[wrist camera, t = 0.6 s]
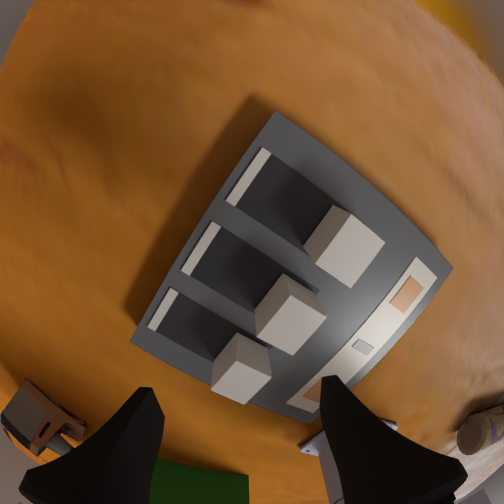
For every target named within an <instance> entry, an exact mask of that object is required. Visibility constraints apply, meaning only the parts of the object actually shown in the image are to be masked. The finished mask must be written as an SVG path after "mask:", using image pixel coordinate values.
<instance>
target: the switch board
mask: <svg viewBox="0 0 504 504" xmlns="http://www.w3.org/2000/svg"><path fill="white" fill-rule="evenodd" d="M333 205H334V206H336V207H338V208H341V209H342V210H344V211H346V212H348V213H350V214H352V215H353V216H355V217H356V218H357V219H358V220H359V221H361V222H362V223H363V224H364V225H365V226H367V227H368V228H369V229H370V230H371V231H373V232H374V233H375V234H376V235H377V236H378V237H380V238H381V239H382V240H383V241H384V242H385V244H384V245H383V246H382V248H381V249H380V251H379V252H378V253H377V255H376V256H375V257H374V259H373V260H372V261H371V263H370V264H369V265H368V267H367V268H366V269H365V271H364V272H363V273H362V275H361V276H360V277H359V279H358V280H357V281H356V282H355V284H354V285H353V286H352V287H351V288H349V287H348V286H346V285H345V284H344V283H342V282H341V281H339V280H338V279H336V278H335V277H333V276H332V275H331V274H329V273H328V272H326V271H325V270H323V269H322V268H320V267H319V266H318V265H316V264H315V263H314V262H313V260H312V259H311V257H310V256H309V254H308V253H307V251H306V250H305V249H304V247H303V246H304V244H305V243H306V242H307V240H308V239H309V237H310V236H311V235H312V233H313V232H314V231H315V229H316V228H317V227H318V225H319V224H320V222H321V221H322V220H323V218H324V217H325V215H326V214H327V213H328V211H329V210H330V208H331V207H332V206H333ZM452 270H453V267H452V265H451V264H450V263H449V262H448V261H447V260H446V258H445V257H444V256H443V255H442V254H441V253H440V252H439V251H438V249H437V248H436V247H435V246H434V245H433V244H432V243H431V242H430V241H429V240H428V239H427V238H426V237H425V235H424V234H423V233H422V232H421V231H420V230H419V229H418V228H417V227H416V226H415V225H414V224H413V223H412V222H411V221H410V220H409V219H408V218H407V217H406V216H405V215H404V214H403V213H402V212H401V211H400V210H399V209H398V208H397V207H396V206H395V205H393V204H392V203H391V202H390V201H389V200H388V199H387V198H386V197H385V196H384V195H383V194H382V193H381V192H379V191H378V190H377V189H376V188H375V187H374V186H373V185H372V184H370V183H369V182H368V181H367V180H366V179H365V178H364V177H362V176H361V175H360V174H359V173H358V172H357V171H355V170H354V169H353V168H352V167H351V166H349V165H348V164H347V163H346V162H345V161H343V160H342V159H341V158H340V157H338V156H337V155H336V154H335V153H333V152H332V151H331V150H330V149H328V148H327V147H326V146H324V145H323V144H322V143H320V142H319V141H318V140H316V139H315V138H314V137H312V136H311V135H310V134H308V133H307V132H306V131H304V130H303V129H302V128H300V127H299V126H297V125H296V124H294V123H293V122H292V121H290V120H289V119H287V118H286V117H284V116H283V115H281V114H280V113H278V112H277V111H275V112H274V114H273V115H272V116H271V118H270V119H269V120H268V122H267V123H266V125H265V126H264V127H263V129H262V130H261V131H260V133H259V134H258V136H257V137H256V138H255V140H254V141H253V143H252V144H251V145H250V147H249V148H248V150H247V151H246V153H245V154H244V155H243V157H242V158H241V160H240V161H239V163H238V164H237V166H236V167H235V168H234V170H233V171H232V173H231V174H230V176H229V177H228V179H227V180H226V182H225V183H224V185H223V186H222V188H221V189H220V191H219V192H218V194H217V195H216V197H215V198H214V200H213V201H212V203H211V204H210V206H209V208H208V209H207V211H206V212H205V214H204V215H203V217H202V218H201V220H200V222H199V223H198V225H197V226H196V228H195V230H194V231H193V233H192V234H191V236H190V238H189V239H188V241H187V242H186V244H185V246H184V247H183V249H182V251H181V252H180V254H179V256H178V257H177V259H176V261H175V262H174V264H173V266H172V267H171V269H170V271H169V272H168V274H167V276H166V277H165V279H164V281H163V283H162V284H161V286H160V288H159V289H158V291H157V293H156V295H155V296H154V298H153V300H152V302H151V304H150V305H149V307H148V309H147V311H146V313H145V314H144V316H143V318H142V320H141V322H140V323H139V325H138V327H137V329H136V331H135V333H134V335H133V336H132V338H131V340H130V342H131V343H133V344H134V345H136V346H138V347H139V348H141V349H143V350H144V351H146V352H148V353H149V354H151V355H153V356H155V357H156V358H158V359H160V360H162V361H164V362H165V363H167V364H169V365H171V366H173V367H175V368H177V369H179V370H180V371H182V372H184V373H186V374H188V375H190V376H192V377H194V378H196V379H198V380H200V381H202V382H204V383H207V384H209V385H211V380H212V372H213V364H214V360H215V359H216V358H217V356H218V355H219V354H220V353H221V351H222V350H223V349H224V348H225V347H226V345H227V344H228V343H229V342H230V340H231V339H232V338H233V337H234V335H235V334H236V333H237V332H238V333H240V334H241V335H243V336H245V337H247V338H249V339H251V340H253V341H255V342H256V343H258V344H260V345H262V346H264V347H266V348H268V352H269V359H270V367H271V374H272V378H271V379H270V380H269V381H268V382H267V383H266V384H265V385H264V386H263V387H262V388H261V389H260V390H259V391H258V392H257V393H256V394H255V395H254V396H253V397H252V398H251V399H250V400H249V401H247V402H250V403H252V404H254V405H257V406H260V407H262V408H265V409H267V410H270V411H273V412H275V413H278V414H281V415H284V416H286V417H289V418H292V419H295V420H298V421H301V422H304V423H307V424H311V423H312V422H314V421H315V420H316V419H317V418H319V417H320V416H321V415H320V410H319V404H320V393H321V380H322V377H324V376H330V375H337V376H338V377H339V378H340V379H341V380H342V382H343V383H344V384H345V385H346V386H347V387H348V389H349V390H350V389H351V388H353V387H354V386H355V385H356V384H357V383H358V382H359V381H360V380H361V379H362V378H363V377H364V376H365V375H366V374H367V373H368V372H369V371H370V370H371V369H372V368H373V367H374V366H375V365H376V364H377V363H378V362H379V361H380V360H381V359H382V357H383V356H384V355H385V354H386V353H387V352H388V351H389V350H390V349H391V348H392V347H393V345H394V344H395V343H396V342H397V341H398V340H399V339H400V338H401V336H402V335H403V334H404V333H405V332H406V331H407V329H408V328H409V327H410V326H411V325H412V323H413V322H414V321H415V320H416V318H417V317H418V316H419V315H420V313H421V312H422V311H423V310H424V308H425V307H426V306H427V304H428V303H429V302H430V301H431V299H432V298H433V297H434V295H435V294H436V292H437V291H438V290H439V288H440V287H441V286H442V284H443V283H444V281H445V280H446V278H447V277H448V275H449V274H450V273H451V271H452ZM283 273H284V274H285V275H287V276H288V277H290V278H291V279H293V280H295V281H296V282H298V283H299V284H301V285H302V286H304V287H305V288H307V289H309V290H310V291H312V292H313V293H315V295H316V297H317V299H318V301H319V303H320V305H321V307H322V309H323V311H324V312H325V314H326V316H327V318H326V319H325V320H324V321H323V323H322V324H321V325H320V326H319V327H318V328H317V329H316V331H315V332H314V333H313V334H312V335H311V336H310V337H309V338H308V340H307V341H306V342H305V343H304V344H303V345H302V346H301V347H300V348H299V350H298V351H297V352H296V353H295V354H294V355H291V354H289V353H287V352H285V351H283V350H281V349H279V348H277V347H275V346H273V345H271V344H269V343H267V342H265V341H263V340H261V339H260V338H258V337H257V336H256V324H255V311H254V310H255V309H256V308H257V306H258V305H259V304H260V302H261V301H262V300H263V298H264V297H265V296H266V295H267V293H268V292H269V291H270V289H271V288H272V287H273V286H274V284H275V283H276V282H277V280H278V279H279V278H280V276H281V275H282V274H283Z"/></svg>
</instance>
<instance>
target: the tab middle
mask: <svg viewBox="0 0 504 504" xmlns="http://www.w3.org/2000/svg"><path fill="white" fill-rule="evenodd" d="M254 311H255V324H256V336H257V337H258V338H260V339H261V340H263V341H265V342H267V343H269V344H271V345H273V346H275V347H277V348H279V349H281V350H283V351H285V352H287V353H289V354H291V355H294V354H295V353H296V352H297V351H298V350H299V348H300V347H301V346H302V345H303V344H304V343H305V342H306V341H307V340H308V338H309V337H310V336H311V335H312V334H313V333H314V332H315V331H316V329H317V328H318V327H319V326H320V325H321V324H322V323H323V321H324V320H325V319H326V318H327V316H326V314H325V312H324V311H323V309H322V307H321V305H320V303H319V301H318V299H317V297H316V295H315V293H313V292H312V291H310V290H309V289H307V288H305V287H304V286H302V285H301V284H299V283H298V282H296V281H295V280H293V279H291V278H290V277H288V276H287V275H285V274H284V273H283V274H282V275H281V276H280V278H279V279H278V280H277V282H276V283H275V284H274V286H273V287H272V288H271V289H270V291H269V292H268V293H267V295H266V296H265V297H264V298H263V300H262V301H261V302H260V304H259V305H258V306H257V308H256V309H255V310H254Z"/></svg>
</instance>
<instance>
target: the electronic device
mask: <svg viewBox="0 0 504 504" xmlns="http://www.w3.org/2000/svg"><path fill="white" fill-rule="evenodd" d="M64 410H65V409H64V408H63V407H61V406H60V404H59V403H57V402H56V401H54V400H53V399H52V398H50V397H49V396H47V395H45V394H44V393H43V392H41V391H40V390H39V389H38V388H37V387H36V386H35V385H33V384H32V383H31V382H30V381H29V380H27V379H26V380H25V381H24V382H23V383H22V384H21V386H20V387H19V389H18V391H17V392H16V394H15V395H14V396H13V398H12V399H11V401H10V402H9V403H8V405H7V406H6V408H5V409H4V410H3V411H2V413H1V423H2V424H3V425H4V426H5V427H6V429H7V430H8V431H9V432H10V433H11V434H12V435H13V436H14V437H15V438H16V439H17V440H18V441H19V442H20V443H21V444H22V445H23V446H24V447H26V448H27V449H28V450H30V451H31V452H32V453H33V454H34V455H35V456H39V455H40V454H41V453H42V452H43V451H44V450H45V449H46V448H49V449H51V450H52V451H54V452H56V453H58V454H59V455H61V456H63V455H65V454H66V453H68V452H70V451H71V450H73V449H74V447H72V446H71V445H70V444H69V443H68V442H67V441H66V440H65V439H64V438H63V437H62V436H61V435H60V434H61V433H63V434H65V435H67V436H69V437H70V438H73V439H74V440H76V441H80V440H81V438H82V436H83V435H84V433H85V432H86V431H87V429H86V428H85V427H84V426H83V424H85V423H84V421H82V420H79V419H76V418H74V417H72V416H70V415H69V414H68V413H66V412H65V411H66V410H65V411H64Z"/></svg>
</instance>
